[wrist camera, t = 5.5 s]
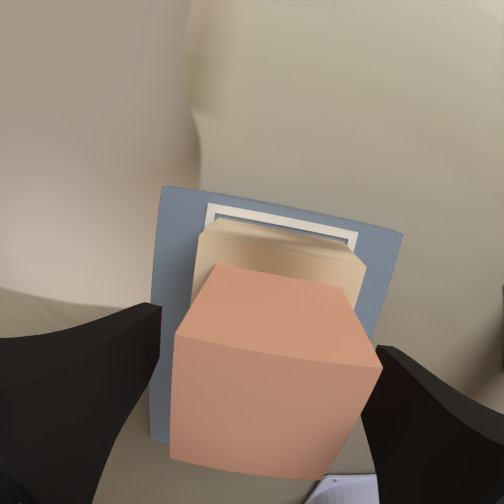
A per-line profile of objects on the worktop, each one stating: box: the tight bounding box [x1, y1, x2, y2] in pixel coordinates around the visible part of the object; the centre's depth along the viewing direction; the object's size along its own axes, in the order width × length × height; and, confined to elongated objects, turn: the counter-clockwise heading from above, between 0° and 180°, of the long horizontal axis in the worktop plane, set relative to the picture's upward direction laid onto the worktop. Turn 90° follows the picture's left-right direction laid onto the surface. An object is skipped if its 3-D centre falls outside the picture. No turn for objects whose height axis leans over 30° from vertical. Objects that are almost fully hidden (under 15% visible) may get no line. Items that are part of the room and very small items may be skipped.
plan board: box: [149, 186, 403, 445], centre depth 17 cm, size 12×18×1 cm, turn 170°
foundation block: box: [190, 218, 367, 310], centre depth 13 cm, size 6×6×4 cm
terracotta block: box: [170, 263, 383, 480], centre depth 9 cm, size 4×4×5 cm
